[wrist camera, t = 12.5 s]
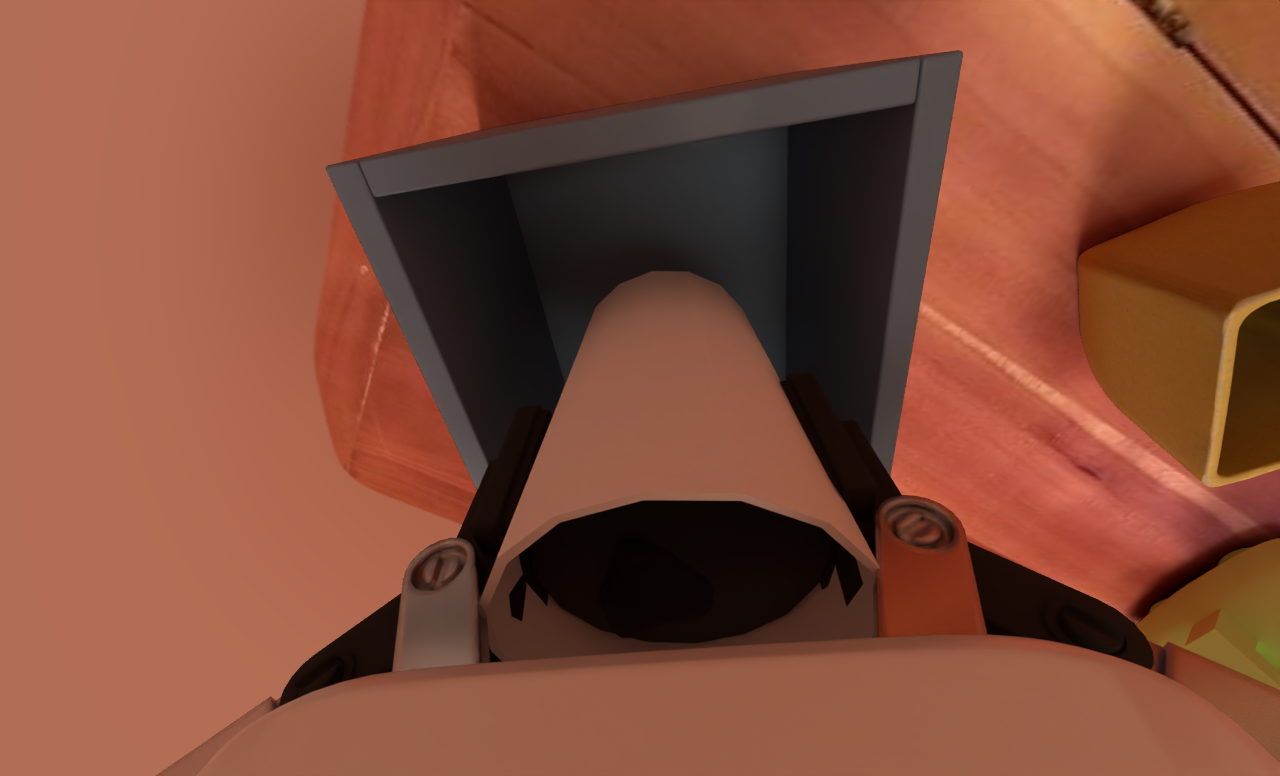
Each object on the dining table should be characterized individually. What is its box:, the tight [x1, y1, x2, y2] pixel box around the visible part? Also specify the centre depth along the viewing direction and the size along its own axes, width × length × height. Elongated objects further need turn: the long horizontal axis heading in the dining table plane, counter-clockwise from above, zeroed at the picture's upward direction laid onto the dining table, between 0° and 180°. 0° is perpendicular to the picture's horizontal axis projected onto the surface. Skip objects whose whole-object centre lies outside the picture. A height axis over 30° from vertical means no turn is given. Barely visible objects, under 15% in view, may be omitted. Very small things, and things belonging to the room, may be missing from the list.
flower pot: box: [1077, 182, 1280, 487], centre depth 19 cm, size 9×9×9 cm
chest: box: [326, 50, 963, 490], centre depth 19 cm, size 16×14×11 cm
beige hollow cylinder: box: [479, 271, 879, 662], centre depth 12 cm, size 7×7×10 cm
